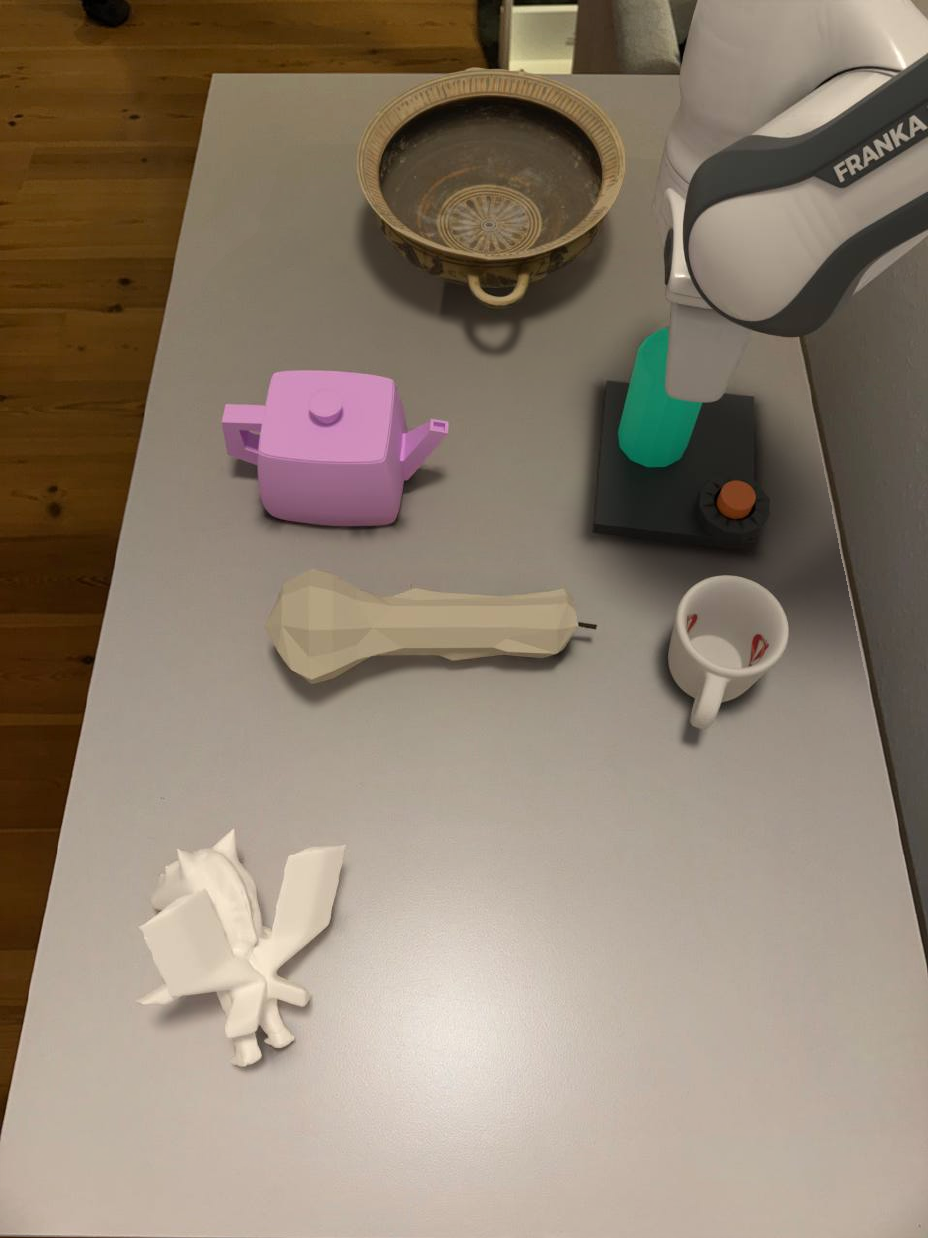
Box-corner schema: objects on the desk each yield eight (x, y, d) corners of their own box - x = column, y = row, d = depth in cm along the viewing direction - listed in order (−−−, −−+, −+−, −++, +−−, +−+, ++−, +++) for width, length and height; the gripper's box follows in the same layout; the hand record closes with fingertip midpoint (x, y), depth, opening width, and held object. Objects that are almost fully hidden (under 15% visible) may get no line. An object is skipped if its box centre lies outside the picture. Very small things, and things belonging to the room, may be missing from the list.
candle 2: (272, 585, 81) (584, 581, 83) (272, 692, 80) (589, 686, 82) (259, 558, 73) (606, 554, 74) (257, 677, 71) (613, 671, 73)
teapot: (452, 433, 89) (452, 354, 80) (443, 537, 85) (443, 465, 75) (247, 422, 90) (224, 341, 80) (227, 524, 85) (200, 451, 76)
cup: (739, 763, 76) (770, 725, 69) (636, 730, 77) (655, 689, 70) (768, 639, 81) (799, 592, 74) (670, 610, 82) (691, 560, 75)
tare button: (750, 492, 84) (756, 482, 82) (750, 521, 83) (756, 511, 81) (716, 488, 84) (721, 478, 83) (716, 517, 83) (720, 507, 81)
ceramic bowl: (363, 139, 106) (355, 47, 97) (593, 133, 107) (606, 42, 98) (365, 367, 92) (356, 286, 84) (628, 359, 93) (647, 278, 84)
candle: (701, 438, 88) (737, 341, 77) (658, 480, 86) (688, 387, 75) (646, 399, 90) (674, 299, 79) (603, 439, 88) (625, 343, 77)
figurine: (301, 1002, 75) (249, 816, 76) (396, 1006, 67) (337, 797, 68) (108, 1101, 65) (52, 884, 66) (193, 1120, 57) (127, 871, 58)
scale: (759, 407, 91) (769, 385, 88) (760, 555, 84) (770, 536, 82) (604, 390, 92) (609, 367, 89) (592, 536, 85) (597, 516, 82)
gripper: (683, 77, 69) (648, 237, 82) (668, 303, 60) (631, 444, 73) (777, 86, 69) (728, 245, 81) (776, 315, 60) (721, 455, 72)
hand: (682, 341), depth 77 cm, fingers open, 8 cm apart
